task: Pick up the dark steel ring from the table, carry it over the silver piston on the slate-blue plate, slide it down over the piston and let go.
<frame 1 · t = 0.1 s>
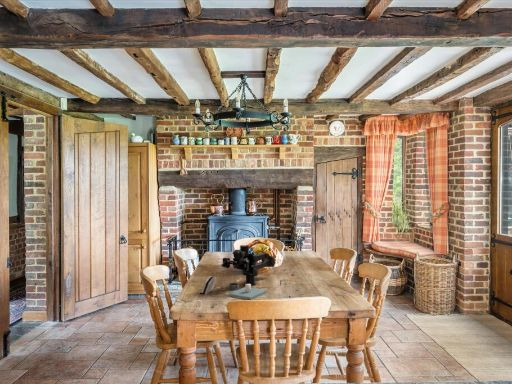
hand: (227, 266, 250), 17 cm above the table, tool horizontal, fingers open, 9 cm apart
piston plate: (248, 294, 248), on the table
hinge: (208, 291, 257), on the table
ring: (233, 288, 261), on the table
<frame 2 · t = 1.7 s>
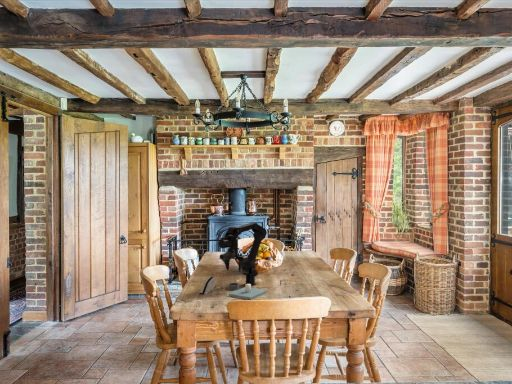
hand: (233, 271, 261), 11 cm above the table, tool pointing down, fingers open, 9 cm apart
nothing on the table moved.
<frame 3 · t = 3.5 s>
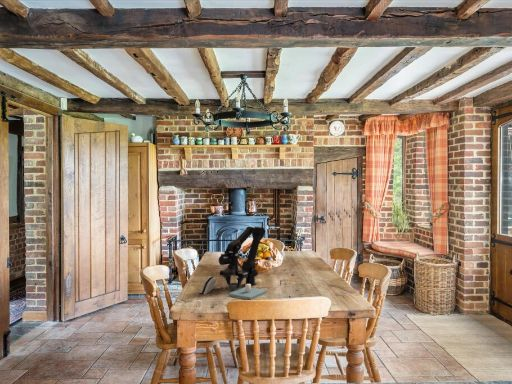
hand: (233, 287, 261), 1 cm above the table, tool pointing down, fingers closed on ring, 7 cm apart
ring: (233, 288, 261), on the table, touching gripper
everything else where it was.
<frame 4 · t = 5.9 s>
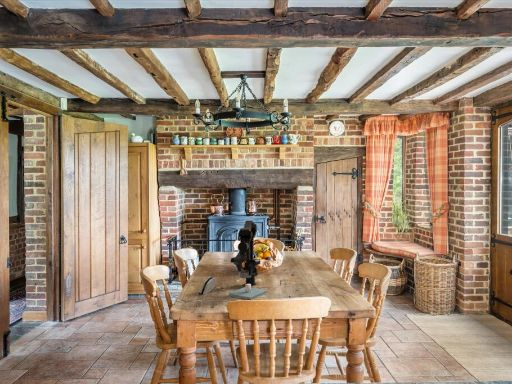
hand: (245, 275, 249), 11 cm above the table, tool pointing down, fingers closed on ring, 7 cm apart
ring: (245, 276, 249), point 10 cm above the table, touching gripper
everything else where it was.
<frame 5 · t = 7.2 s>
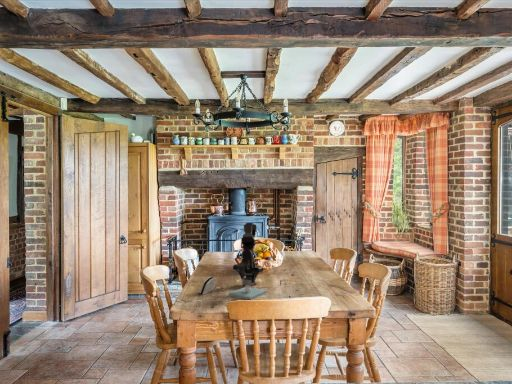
hand: (247, 282, 248), 7 cm above the table, tool pointing down, fingers closed on ring, 7 cm apart
ring: (247, 283, 248), point 6 cm above the table, touching gripper
when the fingers open (4 cm above the table, at t = 8.5 s): ring stays where it is, resting on piston plate.
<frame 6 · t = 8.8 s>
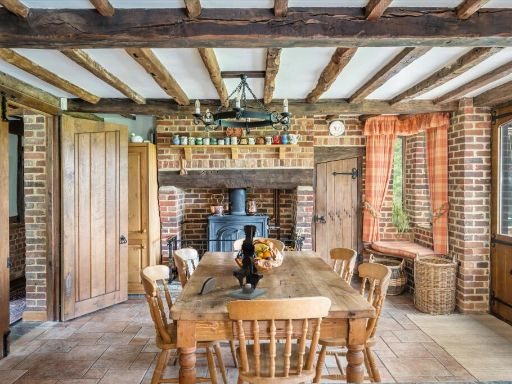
hand: (248, 288, 248), 4 cm above the table, tool pointing down, fingers open, 9 cm apart
ring: (247, 291, 248), point 1 cm above the table, touching piston plate
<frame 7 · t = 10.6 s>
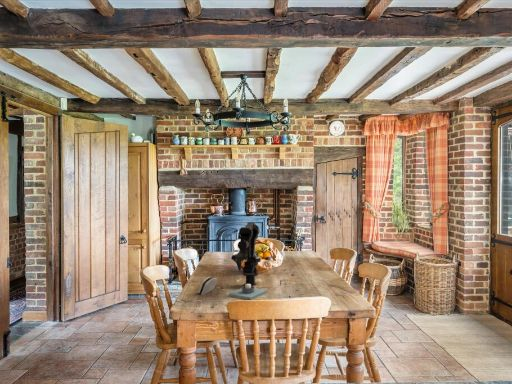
hand: (245, 271, 257), 12 cm above the table, tool pointing down, fingers open, 9 cm apart
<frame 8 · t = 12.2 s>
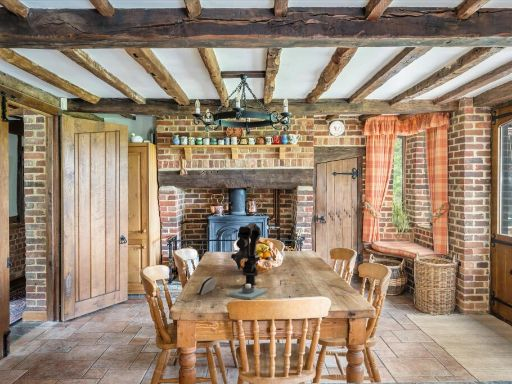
hand: (245, 270, 259), 12 cm above the table, tool pointing down, fingers open, 9 cm apart
at the end: ring 0.1 cm from the piston plate (horizontally); ring point 1.5 cm above the table; the gripper is holding nothing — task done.
